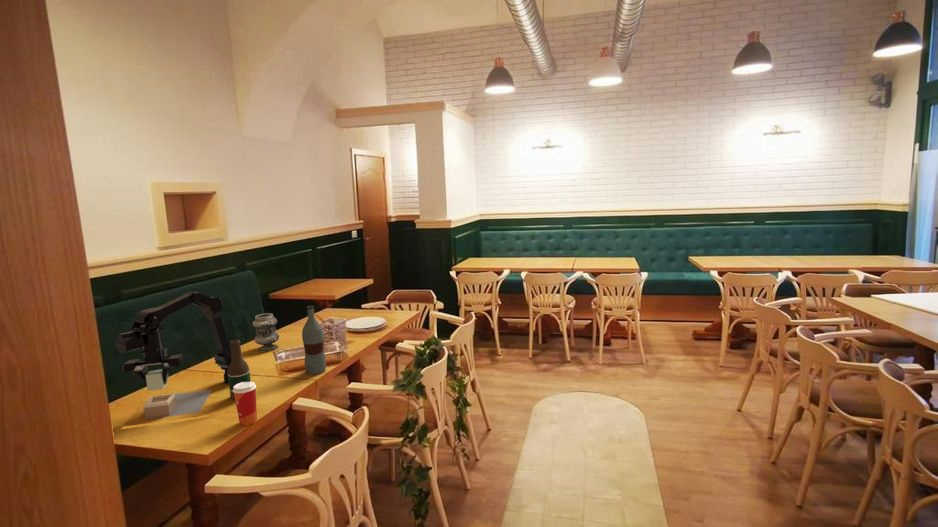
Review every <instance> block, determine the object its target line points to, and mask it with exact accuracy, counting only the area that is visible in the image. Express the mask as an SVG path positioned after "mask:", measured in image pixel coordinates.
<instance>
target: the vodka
mask: <svg viewBox="0 0 938 527" xmlns="http://www.w3.org/2000/svg"><path fill="white" fill-rule="evenodd" d="M306 309H307V320H306V322H305V324H304V325H303V328H302V333H301V339H302V343H303V348H304V349H303V350H304V368H305V371H306V374H308V375H319V374H322V373H324V372H326V368H327V358H326V354H325V350H324V349H325V346H324V345H325V344H324V342H325V341H324V337H325V336H324V335H325V334H324V329H323V327H322V325H321V324H320V322H319V321H318V320H317V319H316V318H315V310H314V305H308V306H306Z"/></svg>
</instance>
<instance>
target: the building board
mask: <svg viewBox="0 0 938 527" xmlns="http://www.w3.org/2000/svg"><path fill="white" fill-rule="evenodd" d="M213 390H214V389H205V390H198V391H197V390H196V391H188V392H181V393H175V392H173V393H166V394H160V395H159V394H157V395H151V396H150V397H149V398H148V399H147V400H146V401H145V403H144V404H143V411H144V420H145V421H146V420H152V419H159V418H160V419H161V418H167V417H175V416H181V415H189V414H195V413H196V414H197V413H200V411H201V410H202V408H203V406H204V405H205V403H206V401H207V400H208V398H209V397H210V395H211V393H212V392H213Z"/></svg>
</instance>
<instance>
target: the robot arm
mask: <svg viewBox="0 0 938 527" xmlns="http://www.w3.org/2000/svg"><path fill="white" fill-rule="evenodd" d="M192 304H193V305H195V306H198V307H199V309H200V311H201V312H202V314H203V315H204V316H205V317H206V318H207V320H208V322H209V325H210V330H211V333H212V335H213V339H214V342H215V346H216V349H217V352H216V353H215V354H214V355H213V358H214V361H215V362H214V363H215V365H217V366H218V367H220V369H221V371H224V373H223V381H224V384H229V380H228V367H229V365H230V363H231V345H230V342H229V337H228V335H227V331H226V328H225V325H224V321H223V318H222V314H223V310H224V307H223V301H222V299H221V298H219V297H217V296H216V297H215V296H209V295H205V294H201V293H199V292H198V291H188V292H186V293H184V294H182V295H181V296H179V297H176V298H174V299H172V300H170V301H168V302H166V303H164V304H162V305H160V306H156V307H151V308H146V309H142V310H140V311H138V312H137V313H136V315H135V319H134V322H133V323H132V325H131V327H130V329H129V331H128V332H122V333H118V338H117V339H116V343H115V344H116V348H117V350H118V352H120V354H125V353H129V352H133V351H136V350H139V349H141V348H142V350H141V353H142V354H143V361H142V360H141V359H140V358H136V359H129V360H128V361H126V362H125V363H123V365H122V372H123V373H128V372H129V373H130V372H133V374H137V375H138V377H140V378H141V379H142V380H143V382H144V383H145V384H146V385H147V382H146V374H147V373H148V372H149V371H148V370H149V367H151V366H160V365H163V367H162V368H161V369H162V373H163V381H164V384H166V383H167V384H168V378H169V375H170V371H171V369H172V368H173V367H179V366H182V364H183V363H184V362H185V361H186V360H185V356H184V354H183V353H180V354H172V355H171V356H170V357H168V348H167V347H163V344H162V343H161V336H160V331H164V330H165V329H166V328H165V327H163V326H162V325H161V323H163V322H164V320H166V319H167V318H168V317H169V316H170V315H173V314H174V313H177V312H178V311H180V310H182V309H184V308H186V307H189V306H190V305H192ZM166 357H168V358H166Z"/></svg>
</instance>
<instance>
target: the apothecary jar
mask: <svg viewBox="0 0 938 527" xmlns="http://www.w3.org/2000/svg"><path fill="white" fill-rule="evenodd" d="M277 324H278V320H277V318H276V317H275V316H274V314H273V313H269V312H267V313H261V314H257V315H256V316H255V317H254V321H252V326H253V327H254V328H255V333H256V336H255V337H254V338H253V339H254V342H255V343H256V344H257V345H260V347H258V348H257V351H258V352H259V353H260V352H263V353H264V352H270V351H271V352H272V351H275V350H277V349H278V348H279V346H278V345H277V344H275V343H276V342H277V341H279V339H280V335H279V333H278V332H277V329H276V325H277Z"/></svg>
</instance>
